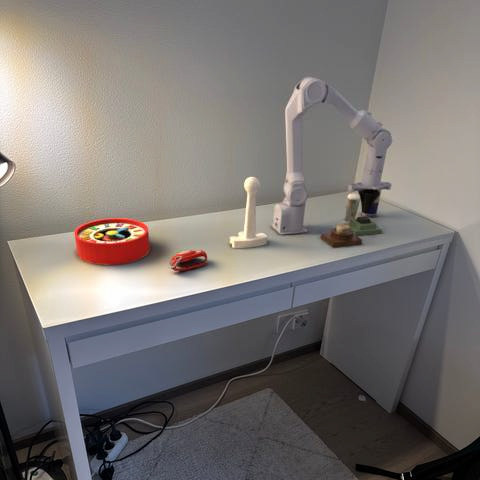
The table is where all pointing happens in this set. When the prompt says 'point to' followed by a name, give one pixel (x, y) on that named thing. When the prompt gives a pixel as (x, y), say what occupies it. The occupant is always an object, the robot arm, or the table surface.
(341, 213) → the table surface
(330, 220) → the table surface
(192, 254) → the tracker holder
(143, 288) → the table surface
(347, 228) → the round button
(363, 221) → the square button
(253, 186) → the joystick
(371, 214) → the energy drink
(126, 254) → the toy clock
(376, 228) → the green stepped block
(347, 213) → the milkshake
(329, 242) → the brown stepped base
